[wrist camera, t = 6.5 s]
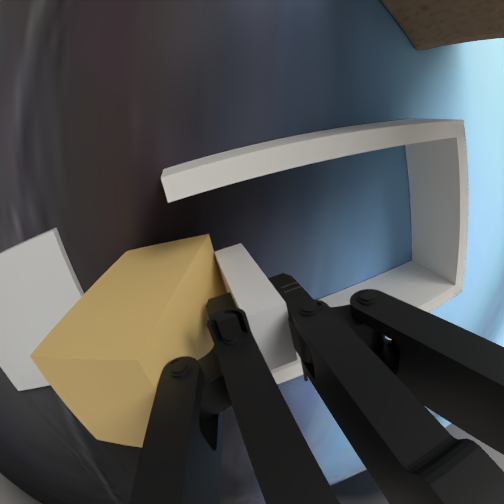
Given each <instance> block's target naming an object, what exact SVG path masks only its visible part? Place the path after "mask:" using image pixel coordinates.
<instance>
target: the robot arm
mask: <svg viewBox="0 0 504 504" xmlns="http://www.w3.org/2000/svg"><path fill="white" fill-rule="evenodd" d="M214 253H215V257H216V260H217V263H218V266H219V270H220V273H221V276H222V279H223V283H224V286H225V289H226V292H227V293H226V294H223V295H220V296H217V297H214V298H211V299H208V302H207V304H206V310H207V314H208V318H209V319H208V321H207V327H208V330H209V332H210V335H211V337H212V340H213V342H214V346H213V348H212V349H211V351H210V352H209V353H208V354H206V355H205V356H204V357H202V358H200V359H198V360H196V359H195V358H193V357H190V356H182V357H178V358H175V359H173V360H172V361H170V362H168V363H167V364H166V365H165V366H164V368H163V370H162V372H161V375H160V379H159V383H158V386H157V390H156V394H155V398H154V401H153V405H152V409H151V413H150V417H149V421H148V425H147V429H146V433H145V437H144V441H143V446H142V450H141V454H140V458H139V463H138V467H137V472H136V476H135V481H134V486H133V490H132V495H131V500H130V504H220V477H221V450H222V426H223V412H222V411H223V410H225V409H227V408H228V407H230V406H231V405H232V406H233V409H234V412H235V415H236V419H237V422H238V425H239V428H240V431H241V434H242V437H243V440H244V443H245V446H246V449H247V452H248V455H249V458H250V460H251V463H252V466H253V469H254V472H255V475H256V477H257V480H258V483H259V486H260V488H261V491H262V494H263V496H264V499H265V502H266V504H340V503H339V501H338V500H337V498H336V496H335V494H334V492H333V491H332V489H331V487H330V485H329V483H328V481H327V480H326V478H325V476H324V474H323V472H322V470H321V469H320V467H319V465H318V463H317V461H316V459H315V457H314V456H313V454H312V452H311V450H310V448H309V446H308V444H307V442H306V440H305V438H304V437H303V435H302V433H301V431H300V429H299V427H298V425H297V423H296V421H295V419H294V417H293V415H292V413H291V411H290V409H289V407H288V405H287V403H286V402H285V400H284V398H283V396H282V394H281V392H280V390H279V388H278V386H277V384H276V382H275V380H274V378H273V376H272V373H271V371H270V370H272V369H275V368H278V367H280V366H283V365H286V364H288V363H291V362H293V361H296V360H297V355H296V352H297V353H298V355H299V356H300V359H301V364H302V369H303V375H304V379H305V381H307V380H308V379H307V376H308V378H309V379H310V381H311V382H312V384H313V386H314V387H315V389H316V390H317V392H318V394H319V395H320V397H321V398H322V400H323V401H324V403H325V405H326V406H327V408H328V409H329V411H330V413H331V414H332V416H333V417H334V419H335V420H336V422H337V424H338V425H339V427H340V428H341V430H342V431H343V433H344V434H345V436H346V438H347V439H348V441H349V442H350V444H351V445H352V447H353V448H354V450H355V452H356V453H357V455H358V456H359V458H360V459H361V461H362V462H363V464H364V465H365V467H366V469H367V470H368V471H369V473H370V475H371V476H372V478H373V479H374V481H375V482H376V484H377V485H378V487H379V488H380V490H381V491H382V493H383V494H384V496H385V497H386V499H387V500H388V502H389V504H504V472H503V471H502V469H501V468H499V466H498V465H497V464H496V463H495V462H494V461H493V460H492V459H491V458H490V457H489V455H488V454H487V453H486V452H485V451H484V450H483V449H482V448H481V447H480V446H479V445H477V444H476V443H475V442H474V441H472V440H469V439H459V440H458V439H456V438H454V437H453V436H451V435H450V434H449V432H448V431H447V430H446V429H445V428H444V427H443V426H442V425H441V424H440V423H439V422H438V420H437V419H436V418H435V417H434V416H433V415H432V414H431V413H430V412H429V411H428V410H427V409H426V407H427V408H429V409H430V410H432V411H433V412H435V413H436V414H438V415H440V416H441V417H443V418H444V419H446V420H448V421H449V422H451V423H452V424H454V425H456V426H457V427H459V428H461V429H462V430H464V431H465V432H467V433H468V434H470V435H472V436H473V437H475V438H477V439H478V440H480V441H481V442H483V443H485V444H486V445H488V446H490V447H492V448H493V449H495V450H497V451H498V452H500V453H502V454H504V347H502V346H500V345H498V344H495V343H493V342H491V341H489V340H487V339H485V338H483V337H480V336H478V335H476V334H474V333H472V332H470V331H468V330H465V329H463V328H461V327H459V326H457V325H455V324H452V323H450V322H448V321H446V320H444V319H441V318H439V317H437V316H435V315H433V314H430V313H428V312H426V311H424V310H422V309H419V308H417V307H415V306H413V305H410V304H408V303H406V302H404V301H402V300H399V299H397V298H395V297H393V296H390V295H388V294H386V293H384V292H381V291H379V290H375V289H364V290H360V291H358V292H355V293H354V294H353V295H352V296H351V298H350V304H349V305H344V306H338V307H329V305H328V304H327V303H325V302H323V301H321V300H313V299H312V297H311V296H310V295H309V294H308V293H307V292H306V291H305V290H304V289H303V288H302V287H301V286H300V285H299V283H297V281H296V280H295V279H294V278H293V277H292V276H290V275H287V274H284V273H282V274H279V275H277V276H274V277H271V278H267V277H266V276H265V274H264V273H263V272H262V270H261V269H260V268H259V266H258V265H257V264H256V262H255V261H254V260H253V258H252V257H251V256H250V254H249V253H248V252H247V250H246V249H245V248H244V246H243V245H242V244H241V243H240V244H237V245H233V246H230V247H227V248H224V249H221V250H218V251H215V252H214ZM385 336H387V337H388V338H390V339H392V340H391V341H390V340H388V339H386V338H385ZM425 406H426V407H425Z"/></svg>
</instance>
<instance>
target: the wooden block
mask: <svg viewBox="0 0 504 504" xmlns="http://www.w3.org/2000/svg"><path fill="white" fill-rule="evenodd" d="M381 2H382V3H383V4H384V5H385V7H386V8H387V9H388V10H389V12H390V13H391V14H392V16H393V17H394V18H395V20H396V21H397V22H398V24H399V25H400V26H401V28H402V29H403V31H404V32H405V33H406V35H407V36H408V38H409V39H410V41H411V42H412V44H413V45H414V47H415V48H416V49H418V50H425V49H430V48H435V47H440V46H445V45H451V44H457V43H463V42H470V41H477V40H486V39H495V38H504V0H381Z"/></svg>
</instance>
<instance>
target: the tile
mask: <svg viewBox="0 0 504 504" xmlns="http://www.w3.org/2000/svg"><path fill="white" fill-rule="evenodd" d="M83 295H84V292H83V290H82V288H81V286H80V284H79V281H78V279H77V277H76V275H75V273H74V270H73V268H72V266H71V263H70V261H69V259H68V256H67V254H66V251H65V249H64V246H63V244H62V241H61V239H60V236H59V233H58V231H57V228H54V229H51V230H49V231H47V232H44V233H42V234H40V235H37V236H35V237H33V238H30V239H28V240H26V241H24V242H22V243H19V244H17V245H15V246H13V247H11V248H9V249H6V250H4V251H2V252H0V367H1V368H2V369H3V371H4V372H5V374H6V375H7V376H8V378H9V379H10V381H11V382H12V383H13V385H14V386H15V387H16V388H17V390H18V391H22V390H27V389H33V388H38V387H43V386H49V385H50V384H49V382H48V381H47V380H46V378H45V377H44V376H43V374H42V373H41V372H40V370H39V369H38V367H37V366H36V364H35V363H34V362H33V360H32V359H31V357H30V355H31V354H32V352H33V351H34V350H35V349H36V348H37V346H38V345H39V344H40V343H41V342H42V341H43V339H44V338H45V337H46V336H47V335H48V334H49V332H50V331H51V330H52V329H53V328H54V327H55V326H56V324H57V323H58V322H59V321H60V320H61V319H62V318H63V317H64V315H65V314H66V313H67V312H68V311H69V310H70V309H71V308H72V307H73V306H74V305H75V303H76V302H77V301H78V300H79V299H80V298H81V297H82V296H83Z"/></svg>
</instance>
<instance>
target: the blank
mask: <svg viewBox="0 0 504 504" xmlns="http://www.w3.org/2000/svg"><path fill="white" fill-rule="evenodd" d="M226 293H227V292H226V289H225V286H224V283H223V279H222V276H221V273H220V270H219V266H218V263H217V260H216V257H215V253H214V250H213V246H212V243H211V240H210V236H209V234H205V235H200V236H195V237H191V238H186V239H181V240H176V241H171V242H166V243H161V244H157V245H152V246H147V247H143V248H138V249H133V250H129V251H126V252H125V253H124V254H123V255H122V256H121V257H120V258H119V259H118V260H117V261H116V262H115V263H114V264H113V265H112V266H111V267H110V268H109V269H108V270H107V271H106V272H105V273H104V274H103V275H102V276H101V277H100V278H99V279H98V280H97V281H96V282H95V283H94V284H93V285H92V286H91V288H90V289H89V290H88V291H87V292H86V293H85V294H84V295H83V296H82V297H81V298H80V299H79V300H78V301H77V302H76V303H75V305H74V306H73V307H72V308H71V309H70V310H69V311H68V312H67V313H66V314H65V315H64V317H63V318H62V319H61V320H60V321H59V322H58V323H57V324H56V326H55V327H54V328H53V329H52V330H51V331H50V332H49V334H48V335H47V336H46V337H45V338H44V339H43V341H42V342H41V343H40V344H39V345H38V346H37V348H36V349H35V350H34V351H33V352H32V354H31V355H30V357H31V359H32V360H33V362H34V363H35V364H36V366H37V367H38V369H39V370H40V372H41V373H42V374H43V376H44V377H45V378H46V380H47V381H48V382H49V384H50V385H51V386H52V388H53V389H54V390H55V392H56V393H57V394H58V395H59V397H60V398H61V399H62V400H63V402H64V403H65V404H66V405H67V407H68V408H69V409H70V410H71V411H72V412H73V414H74V415H75V416H76V417H77V418H78V419H79V421H80V422H81V423H82V424H83V425H84V426H85V427H86V428H87V429H88V430H89V431H90V433H91V434H92V435H93V436H94V437H95V438H96V439H97V440H101V441H106V442H111V443H117V444H122V445H128V446H134V447H141V448H142V446H143V441H144V437H145V433H146V429H147V425H148V421H149V417H150V413H151V409H152V405H153V401H154V398H155V394H156V390H157V386H158V383H159V379H160V375H161V372H162V370H163V368H164V366H165V365H166V364H167V363H168V362H170V361H172V360H173V359H175V358H178V357H182V356H190V357H193V358H195V359H196V360H198V359H200V358H202V357H204V356H205V355H206V354H208V353H209V352H210V351H211V349H212V348H213V346H214V342H213V340H212V337H211V335H210V332H209V330H208V327H207V321H208V319H209V318H208V314H207V310H206V304H207V302H208V299H211V298H214V297H217V296H220V295H223V294H226Z"/></svg>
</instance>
